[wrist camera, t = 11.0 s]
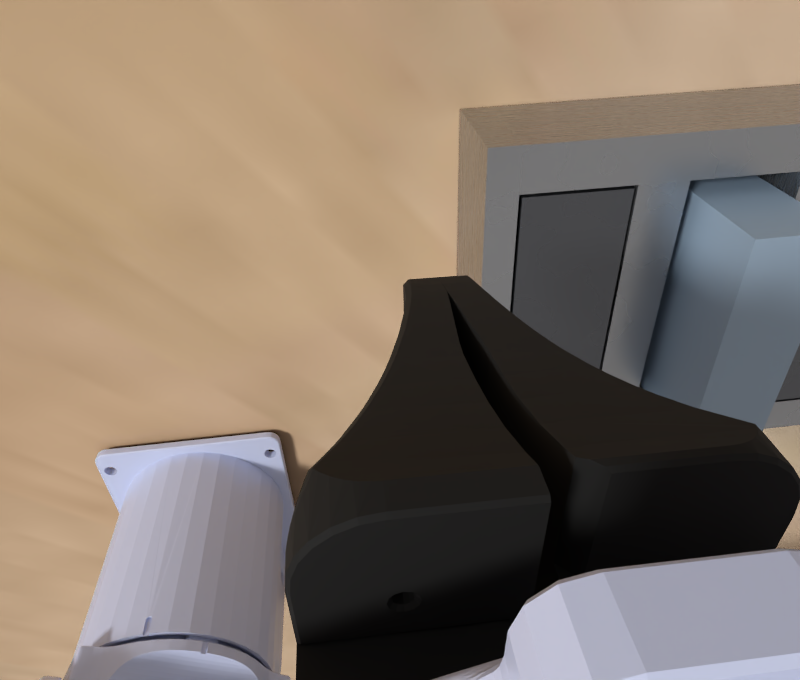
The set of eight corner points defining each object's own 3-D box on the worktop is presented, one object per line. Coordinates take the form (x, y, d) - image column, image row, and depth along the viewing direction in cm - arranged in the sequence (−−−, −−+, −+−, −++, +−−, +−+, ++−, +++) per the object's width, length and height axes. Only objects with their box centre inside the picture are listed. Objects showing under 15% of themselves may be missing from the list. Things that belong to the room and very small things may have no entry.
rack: (789, 366, 29) (853, 428, 25) (454, 402, 28) (474, 472, 24) (913, 75, 21) (1028, 108, 18) (460, 108, 20) (489, 150, 17)
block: (674, 342, 26) (757, 442, 21) (615, 348, 26) (685, 450, 21) (725, 156, 21) (847, 231, 16) (653, 162, 21) (755, 239, 16)
